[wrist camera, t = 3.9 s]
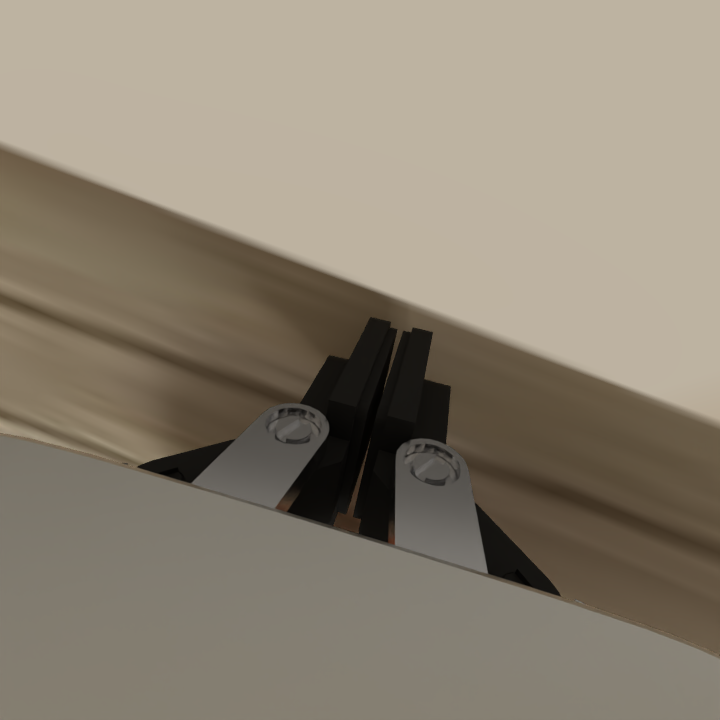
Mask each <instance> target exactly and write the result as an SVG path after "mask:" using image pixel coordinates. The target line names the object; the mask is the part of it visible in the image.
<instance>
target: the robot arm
mask: <svg viewBox="0 0 720 720" xmlns="http://www.w3.org/2000/svg"><path fill="white" fill-rule="evenodd" d="M390 325H391V322H389V321H385V320H380V319H376V318H372V317H371V318H370V320H369V321H368V323H367V325H366V327H365V329H364V331H363V333H362V335H361V337H360V339H359V341H358V343H357V345H356V347H355V349H354V351H353V353H352V355H351V357H350V359H349V360H347V359H343V358H339V357H335V356H331V355H330V356H329V357H328V358H327V360H326V361H325V363H324V365H323V366H322V368H321V370H320V371H319V373H318V375H317V376H316V378H315V380H314V381H313V383H312V385H311V386H310V388H309V390H308V391H307V393H306V395H305V396H304V398H303V399H302V401H301V403H300V404H296V403H286V404H279V405H276V406H274V407H271V408H269V409H268V410H266V411H265V412H263V413H262V414H261V415H260V416H259V417H258V418H257V419H256V420H255V421H254V422H253V423H252V424H251V425H250V426H249V427H248V428H247V429H246V430H245V431H244V432H243V433H242V434H241V435H240V436H239V437H238V438H237V439H234V440H230V441H226V442H222V443H218V444H214V445H211V446H207V447H203V448H199V449H195V450H191V451H187V452H184V453H180V454H176V455H172V456H168V457H164V458H161V459H157V460H153V461H150V462H147V463H145V464H142V465H140V466H138V467H133V466H130V465H128V463H119V462H116V461H113V460H109V459H106V458H102V457H99V456H95V455H92V454H88V453H85V452H81V451H77V450H73V449H69V448H65V447H61V446H57V445H53V444H49V443H46V442H42V441H38V440H34V439H30V438H25V437H20V436H14V435H9V434H3V433H0V720H720V655H718V654H716V653H714V652H712V651H710V650H708V649H706V648H703V647H701V646H699V645H696V644H694V643H691V642H689V641H687V640H684V639H682V638H679V637H677V636H675V635H672V634H670V633H667V632H664V631H662V630H659V629H656V628H653V627H650V626H647V625H644V624H641V623H638V622H636V621H633V620H630V619H627V618H624V617H621V616H618V615H615V614H612V613H610V612H607V611H604V610H601V609H598V608H595V607H592V606H589V605H586V604H584V603H582V602H580V601H578V600H576V599H575V600H574V601H573V600H569V599H566V598H563V597H561V596H560V594H559V592H558V590H557V589H556V588H555V587H554V585H553V584H552V583H551V581H550V580H549V579H548V578H547V577H546V576H545V575H544V574H543V573H542V572H541V571H540V570H539V569H538V568H537V566H536V565H535V564H534V563H533V562H532V561H531V560H530V559H529V558H528V557H527V556H526V555H525V554H524V553H523V552H522V551H521V550H520V549H519V548H518V547H517V546H516V545H515V544H514V542H513V541H512V540H511V539H510V538H509V537H508V536H507V535H506V534H505V533H504V532H503V531H502V530H501V529H500V528H499V527H498V526H497V525H496V524H495V523H494V522H493V521H492V520H491V518H490V517H489V516H488V515H487V514H486V513H485V512H484V511H483V510H482V509H481V508H480V507H479V506H478V505H477V504H476V503H475V502H474V497H473V491H472V486H471V481H470V475H469V470H468V467H467V465H466V462H465V461H464V459H463V458H462V457H461V456H460V454H459V453H457V452H456V451H455V450H454V449H452V448H451V447H449V446H447V445H446V437H447V425H448V414H449V402H450V391H451V387H450V386H448V385H444V384H440V383H436V382H432V381H428V380H424V376H425V371H426V366H427V361H428V355H429V350H430V345H431V339H432V334H433V332H429V331H425V330H421V329H417V328H412V332H407V331H403V334H402V337H401V340H400V343H399V346H398V349H397V352H396V355H395V358H394V361H393V364H392V367H391V370H390V373H389V377H388V380H387V383H386V386H385V382H386V377H387V373H388V369H389V364H390V360H391V355H392V351H393V347H394V342H395V338H396V333H397V329H395V328H390ZM384 386H385V389H384ZM383 390H384V392H383ZM370 439H371V440H370ZM369 442H370V444H369ZM368 445H369V448H368ZM367 448H368V453H367V457H366V462H365V466H364V471H363V475H362V479H361V484H360V488H359V493H358V497H357V502H356V506H355V510H354V515H353V517H356V518H359V519H361V523H360V527H359V534H357V533H353V532H350V531H347V530H344V529H340V528H337V527H334V526H333V525H334V522H335V519H336V516H337V513H338V512H339V513H343V514H346V513H347V510H348V507H349V504H350V501H351V498H352V495H353V492H354V489H355V485H356V482H357V479H358V476H359V473H360V470H361V467H362V464H363V460H364V457H365V454H366V451H367ZM330 525H331V526H330Z"/></svg>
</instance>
